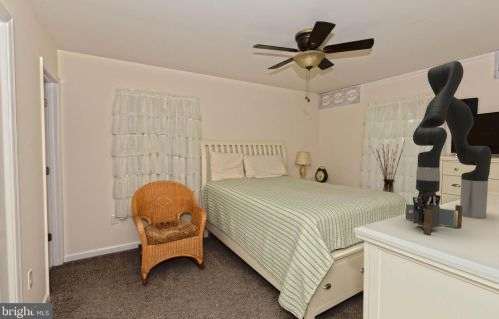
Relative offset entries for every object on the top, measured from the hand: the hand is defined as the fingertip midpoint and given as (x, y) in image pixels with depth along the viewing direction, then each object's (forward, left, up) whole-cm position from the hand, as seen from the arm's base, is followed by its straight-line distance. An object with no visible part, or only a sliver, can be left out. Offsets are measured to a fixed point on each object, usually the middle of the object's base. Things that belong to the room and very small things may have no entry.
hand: (426, 221), depth 95 cm
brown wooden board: (-4, +4, -3) cm, 6 cm away
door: (-8, -3, -2) cm, 9 cm away
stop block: (0, 0, -1) cm, 1 cm away
